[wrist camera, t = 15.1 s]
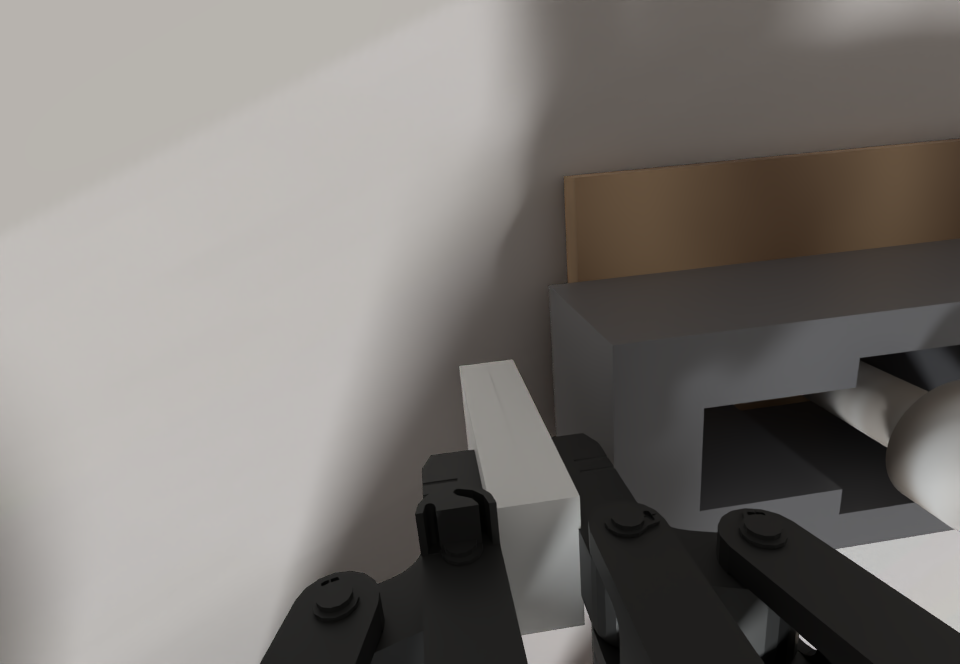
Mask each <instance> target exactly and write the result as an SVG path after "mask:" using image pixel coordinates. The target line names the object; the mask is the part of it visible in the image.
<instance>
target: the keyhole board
mask: <svg viewBox="0 0 960 664" xmlns="http://www.w3.org/2000/svg"><path fill="white" fill-rule="evenodd" d="M564 198H565V225H566V251H567V278H568V283H574V282H583V281H592V280H601V279H609V278H618V277H627V276H636V275H644V274H653V273H662V272H671V271H679V270H688V269H697V268H706V267H714V266H723V265H732V264H741V263H749V262H758V261H767V260H776V259H784V258H793V257H802V256H811V255H819V254H828V253H837V252H846V251H854V250H863V249H872V248H881V247H889V246H898V245H907V244H916V243H924V242H933V241H942V240H951V239H959V238H960V139H949V140H939V141H928V142H918V143H907V144H897V145H886V146H876V147H866V148H855V149H845V150H834V151H824V152H813V153H803V154H792V155H782V156H771V157H761V158H750V159H740V160H729V161H719V162H708V163H698V164H688V165H677V166H667V167H656V168H646V169H635V170H625V171H614V172H604V173H593V174H583V175H572V176H564ZM806 401H812V402H813V403H815V404H817V405H818V406H820V407H822V408H823V409H825V410H827V411H828V412H830V413H831V414H833V415H835V416H836V417H838V418H840V419H841V420H843V421H845V422H846V423H848V424H849V425H851V426H853V427H854V428H856V429H858V430H859V431H861V432H863V433H864V434H866V435H867V436H869V437H871V438H872V439H874V440H876V441H877V442H879V443H881V444H882V445H884V446H885V447H887V450H886V469H887V474H888V476H889V479H890V481H891V482H892V484H893V486H894V487H895V488H896V489H897V490H898V491H899V492H901V493H902V494H903V495H905V496H906V497H908V498H909V499H910V500H912V501H913V502H915V503H916V504H918V505H919V506H921V507H922V508H924V509H925V510H927V511H928V512H929V513H931V514H932V515H934V516H935V517H937V518H938V519H940V520H941V521H943V522H944V523H945V524H947V525H948V526H950V527H951V528H953V529H955V530H957V531H959V532H960V380H955V381H952V382H948V383H945V384H943V385H941V386H938V387H936V388H934V389H933V390H931V391H929V392H928V391H926V390H924V389H922V388H920V387H917V386H915V385H913V384H911V383H909V382H906V381H904V380H902V379H900V378H898V377H895V376H893V375H891V374H889V373H887V372H884V371H882V370H880V369H878V368H876V367H873V366H871V365H869V364H867V363H865V362H862V361H859V368H858V376H857V383H856V388H849V389H842V390H835V391H827V392H820V393H813V394H805V395H798V396H791V397H783V398H776V399H769V400H762V401H754V402H747V403H740V404H732V405H734V406H735V407H736V408H738V409H739V410H740V411H741V410H748V409H755V408H762V407H769V406H777V405H784V404H791V403H798V402H806Z"/></svg>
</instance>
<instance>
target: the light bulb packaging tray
mask: <svg viewBox="0 0 960 664" xmlns="http://www.w3.org/2000/svg"><path fill="white" fill-rule="evenodd" d="M549 303H550V323H551V343H552V363H553V383H554V403H555V423H556V437H557V436H564V435H571V434H579V433H584V434H585V435H587V436H589V437H590V438H592V439H593V440H595V441H597V442H598V443H599V444H600V446H601V447H602V449H603V450H604V452H605V453H606V455H607V458H609V460H610V461H611V463H612V464H613V466H614V469H616V470H617V472H618V473H619V475H620V477H621V478H622V480H623V481H624V483H625V484H626V486H627V487H628V489H629V491H630V492H631V494H632V495H633V497H634V498H635V500H636V501H637V503H640V504H644V505H646V506H648V507H650V508H652V509H654V510H656V511H657V512H658V513H659V514H660V515H661V516H662V517H664V518H665V520H666V521H667V523H668V524H669V526H670V527H673V528H677V529H684V530H691V531H705V532H717V529H718V523H719V521H720V519H721V517H722V516H724V515H725V514H727V513H728V512H730V511H733V510H738V509H744V508H750V509H763V510H766V511H770V512H774V513H777V514H780V515H782V516H784V517H786V518H788V519H790V520H792V521H793V522H795V523H796V524H798V525H799V526H801V527H802V528H804V529H805V530H807V531H808V532H810V533H811V534H813V535H814V536H816V537H817V538H819V539H820V540H822V541H823V542H825V543H826V544H828V545H829V546H831V547H832V548H834V549H839V548H845V547H851V546H857V545H863V544H869V543H875V542H881V541H888V540H894V539H900V538H906V537H912V536H918V535H924V534H930V533H936V532H943V531H949V530H955V529H953V528H951V527H950V526H948V525H947V524H945V523H944V522H943V521H941V520H940V519H938V518H937V517H935V516H934V515H932V514H931V513H929V512H928V511H927V510H925V509H924V508H922V507H921V506H919V505H918V504H916V503H915V502H913V501H912V500H910V499H909V498H908V497H906V496H905V495H903V494H902V493H901V492H899V491H898V490H897V489H896V488H895V487H894V486H893V484H892V482H891V481H890V479H889V476H888V474H887V469H886V450H887V447H885V446H884V445H882V444H881V443H879V442H877V441H876V440H874V439H872V438H871V437H869V436H867V435H866V434H864V433H863V432H861V431H859V430H858V429H856V428H854V427H853V426H851V425H849V424H848V423H846V422H845V421H843V420H841V419H840V418H838V417H836V416H835V415H833V414H831V413H830V412H828V411H827V410H825V409H823V408H822V407H820V406H818V405H817V404H815V403H813V402H812V401H806V402H798V403H791V404H784V405H777V406H769V407H762V408H755V409H748V410H741V411H740V410H739V409H738V408H736V407H735V406H734V405H732V404H740V403H747V402H754V401H762V400H769V399H776V398H783V397H791V396H798V395H805V394H813V393H820V392H827V391H835V390H842V389H849V388H856V383H857V376H858V368H859V361H862V362H865V363H867V364H869V365H871V366H873V367H876V368H878V369H880V370H882V371H884V372H887V373H889V374H891V375H893V376H895V377H898V378H900V379H902V380H904V381H906V382H909V383H911V384H913V385H915V386H917V387H920V388H922V389H924V390H926V391H928V392H929V391H931V390H933V389H934V388H936V387H938V386H941V385H943V384H945V383H948V382H952V381H955V380H960V238H959V239H951V240H942V241H933V242H924V243H916V244H907V245H898V246H889V247H881V248H872V249H863V250H854V251H846V252H837V253H828V254H819V255H811V256H802V257H793V258H784V259H776V260H767V261H758V262H749V263H741V264H732V265H723V266H714V267H706V268H697V269H688V270H679V271H671V272H662V273H653V274H644V275H636V276H627V277H618V278H609V279H601V280H592V281H583V282H574V283H566V284H557V285H549Z"/></svg>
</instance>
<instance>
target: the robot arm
mask: <svg viewBox="0 0 960 664" xmlns="http://www.w3.org/2000/svg"><path fill="white" fill-rule="evenodd" d="M459 368H460V378H461V387H462V396H463V406H464V415H465V424H466V433H467V443H468V450H467V451H460V452H452V453H445V454H438V455H431V456H430V458H429V459H428V461H427V462H426V464H425V465H424V467H423V468H422V481H423V500H422V501H421V502H420V503H419V504H418V507H417V510H416V513H415V516H416V522H417V529H418V536H419V543H420V550H421V555H420V557H419V558H418V560H417V561H416V562H415V563H414V564H413V565H412V566H411V567H410V568H408V569H407V570H406V571H404V572H403V573H401V574H399V575H397V576H395V577H394V578H392V579H389V580H387V581H384V582H382V583H379V584H376V582H375V580H374V579H372V578H371V577H369V576H368V575H366V574H365V573H359V572H353V571H347V572H339V573H334V574H331V575H328V576H326V577H323V578H321V579H318V580H317V581H316V582H314V583H313V584H311V585H310V586H309V587H307V588H306V589H305V590H304V591H303V592H302V593H301V594H300V596H299V597H298V598H297V599H296V601H295V602H294V604H293V606H292V607H291V609H290V611H289V613H288V615H287V616H286V618H285V620H284V622H283V624H282V625H281V627H280V629H279V631H278V632H277V634H276V636H275V638H274V640H273V641H272V643H271V645H270V647H269V649H268V650H267V652H266V654H265V656H264V657H263V659H262V661H261V663H260V664H528V663H527V658H526V654H525V650H524V645H523V641H522V637H521V635H526V634H532V633H538V632H544V631H550V630H556V629H562V628H568V627H574V626H580V625H585V620H584V604H585V607H586V609H587V612H588V615H589V617H590V620H591V622H592V649H593V664H960V633H959V632H957V631H956V630H954V629H953V628H951V627H950V626H948V625H947V624H945V623H944V622H943V621H941V620H940V619H938V618H937V617H935V616H934V615H932V614H931V613H929V612H928V611H926V610H925V609H923V608H922V607H920V606H919V605H917V604H916V603H914V602H913V601H911V600H910V599H908V598H907V597H905V596H904V595H902V594H901V593H899V592H898V591H896V590H895V589H893V588H892V587H890V586H889V585H887V584H886V583H884V582H883V581H881V580H880V579H878V578H877V577H875V576H874V575H872V574H871V573H869V572H868V571H867V570H865V569H864V568H862V567H861V566H859V565H858V564H856V563H855V562H853V561H852V560H850V559H849V558H847V557H846V556H844V555H843V554H841V553H840V552H838V551H837V550H835V549H834V548H832V547H831V546H829V545H828V544H826V543H825V542H823V541H822V540H820V539H819V538H817V537H816V536H814V535H813V534H811V533H810V532H808V531H807V530H805V529H804V528H802V527H801V526H799V525H798V524H796V523H795V522H793V521H792V520H790V519H788V518H786V517H784V516H782V515H780V514H777V513H774V512H770V511H766V510H763V509H750V508H744V509H738V510H733V511H730V512H728V513H727V514H725V515H724V516H722V517H721V519H720V521H719V523H718V529H717V532H705V531H691V530H684V529H677V528H673V527H670V526H669V524H668V523H667V521H666V520H665V518H664V517H662V516H661V515H660V514H659V513H658V512H657V511H656V510H654V509H652V508H650V507H648V506H646V505H644V504H640V503H637V501H636V500H635V498H634V497H633V495H632V494H631V492H630V491H629V489H628V487H627V486H626V484H625V483H624V481H623V480H622V478H621V477H620V475H619V473H618V472H617V470H616V469H614V466H613V464H612V463H611V461H610V460H609V458H607V455H606V453H605V452H604V450H603V449H602V447H601V446H600V444H599V443H598V442H597V441H595V440H593V439H592V438H590V437H589V436H587V435H585V434H584V433H579V434H571V435H564V436H557V437H551V436H550V434H549V432H548V430H547V428H546V426H545V424H544V422H543V420H542V418H541V416H540V414H539V412H538V410H537V408H536V406H535V404H534V402H533V400H532V398H531V396H530V394H529V391H528V389H527V387H526V385H525V383H524V381H523V379H522V377H521V375H520V373H519V371H518V369H517V367H516V365H515V363H514V361H513V359H511V360H503V361H495V362H487V363H479V364H471V365H463V366H459ZM799 634H800V635H801V636H802V637H803V638H804V639H806V640H807V641H808V642H809V643H810V644H811V645H812V646H814V647H815V648H816V649H817V650H814V649H812V648H811V647H809V646H808V645H807V644H805V643H804V642H803V641H802V640H801V639H800V638H799Z"/></svg>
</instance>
